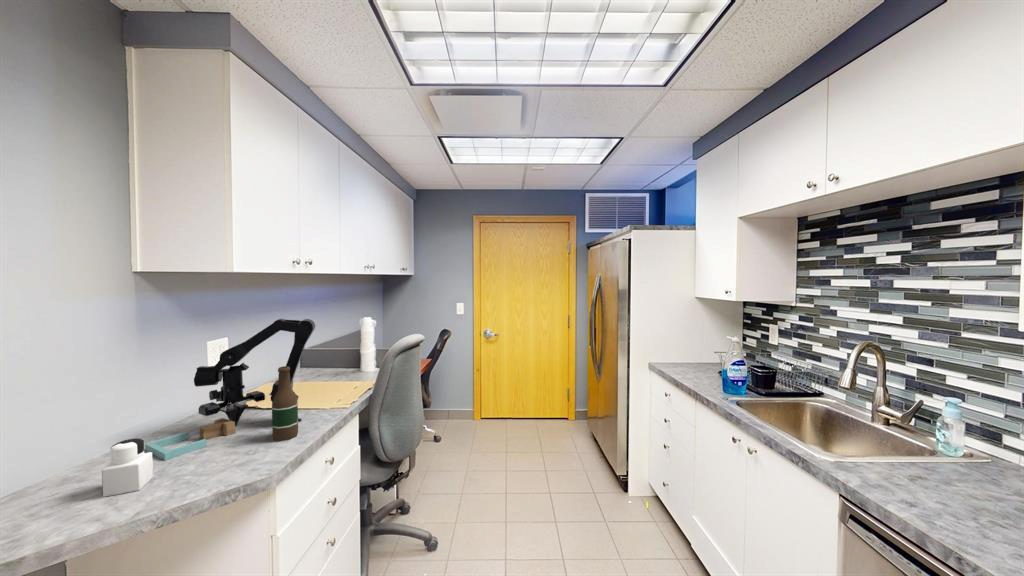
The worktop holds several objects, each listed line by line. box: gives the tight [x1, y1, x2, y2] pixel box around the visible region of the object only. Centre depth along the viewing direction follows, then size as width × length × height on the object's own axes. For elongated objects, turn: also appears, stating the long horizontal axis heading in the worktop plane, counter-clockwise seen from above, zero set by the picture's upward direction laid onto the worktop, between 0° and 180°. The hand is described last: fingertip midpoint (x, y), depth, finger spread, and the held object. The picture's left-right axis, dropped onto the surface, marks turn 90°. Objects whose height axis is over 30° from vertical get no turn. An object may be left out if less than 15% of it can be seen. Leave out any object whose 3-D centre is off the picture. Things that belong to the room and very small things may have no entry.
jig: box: [144, 431, 208, 461], centre depth 119 cm, size 14×10×2 cm
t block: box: [199, 417, 236, 440], centre depth 128 cm, size 8×8×4 cm
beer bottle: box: [271, 365, 299, 442], centre depth 126 cm, size 8×8×24 cm
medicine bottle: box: [101, 438, 154, 497], centre depth 97 cm, size 7×7×12 cm
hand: (234, 426), depth 133 cm, fingers closed
